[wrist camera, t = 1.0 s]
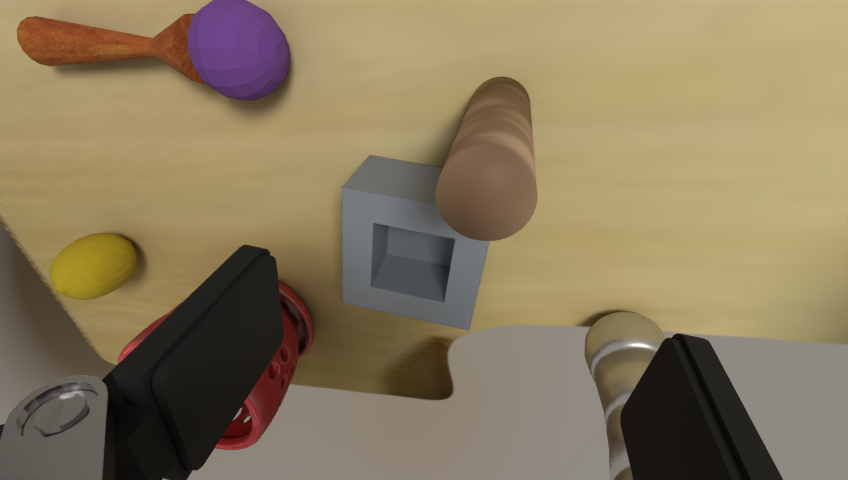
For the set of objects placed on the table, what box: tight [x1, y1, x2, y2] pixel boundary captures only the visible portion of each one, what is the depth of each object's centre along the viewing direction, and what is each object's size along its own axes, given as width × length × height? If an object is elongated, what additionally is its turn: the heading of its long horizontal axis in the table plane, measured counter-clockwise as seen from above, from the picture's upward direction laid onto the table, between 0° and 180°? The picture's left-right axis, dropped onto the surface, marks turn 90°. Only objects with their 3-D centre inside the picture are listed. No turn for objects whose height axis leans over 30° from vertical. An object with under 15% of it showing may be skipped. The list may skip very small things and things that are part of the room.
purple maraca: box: [17, 0, 290, 101], centre depth 28 cm, size 6×6×20 cm
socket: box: [342, 155, 489, 331], centre depth 31 cm, size 10×10×6 cm
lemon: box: [49, 233, 137, 300], centre depth 39 cm, size 6×6×8 cm
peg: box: [435, 77, 537, 241], centre depth 22 cm, size 4×4×14 cm
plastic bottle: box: [585, 312, 666, 480], centre depth 27 cm, size 6×7×20 cm
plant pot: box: [118, 281, 313, 450], centre depth 38 cm, size 13×13×12 cm
